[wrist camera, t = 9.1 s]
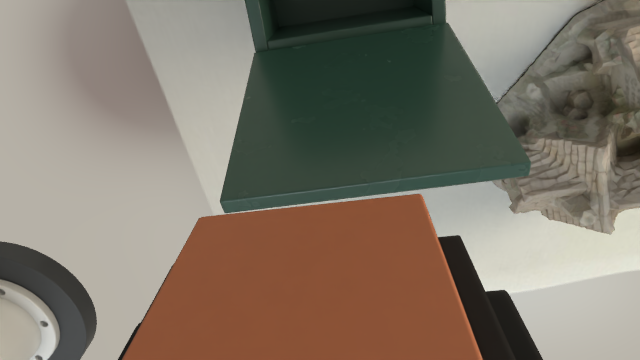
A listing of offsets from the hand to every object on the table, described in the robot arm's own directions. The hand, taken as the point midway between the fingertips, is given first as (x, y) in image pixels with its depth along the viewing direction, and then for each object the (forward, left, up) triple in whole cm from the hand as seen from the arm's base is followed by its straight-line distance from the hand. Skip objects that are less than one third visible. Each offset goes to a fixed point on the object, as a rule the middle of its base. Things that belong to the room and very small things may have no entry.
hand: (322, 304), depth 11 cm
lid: (+2, +1, -13) cm, 13 cm away
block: (0, 0, 0) cm, 0 cm away
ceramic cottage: (+20, -6, -28) cm, 35 cm away
